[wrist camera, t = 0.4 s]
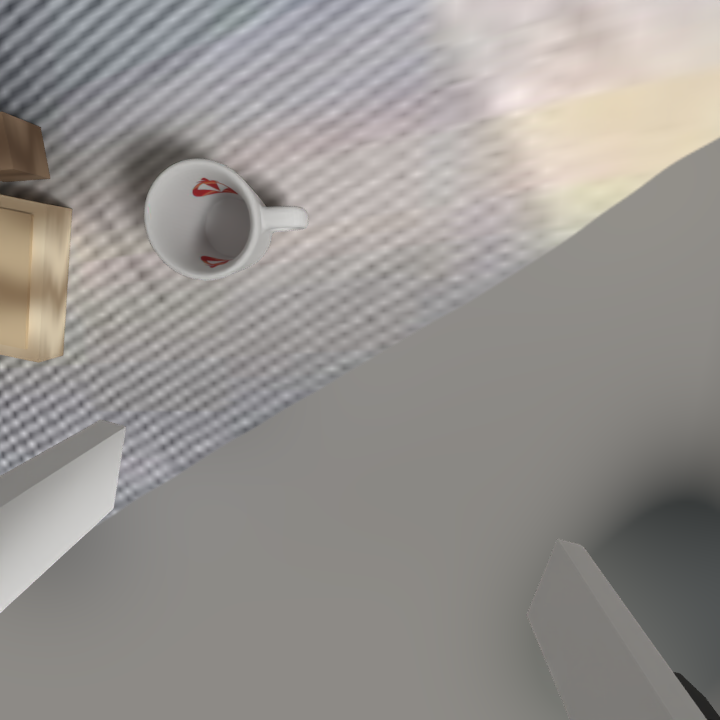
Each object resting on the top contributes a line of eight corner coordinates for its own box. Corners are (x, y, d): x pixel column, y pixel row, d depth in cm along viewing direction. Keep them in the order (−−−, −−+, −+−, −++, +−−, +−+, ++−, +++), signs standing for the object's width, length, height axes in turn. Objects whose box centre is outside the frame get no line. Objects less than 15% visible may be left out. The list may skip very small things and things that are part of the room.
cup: (312, 172, 37) (294, 148, 29) (320, 271, 39) (305, 273, 31) (183, 183, 38) (132, 162, 30) (197, 280, 39) (152, 284, 31)
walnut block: (-6, 131, 38) (-50, 115, 34) (41, 127, 37) (1, 111, 33) (5, 182, 38) (-37, 172, 34) (51, 178, 38) (13, 168, 34)
